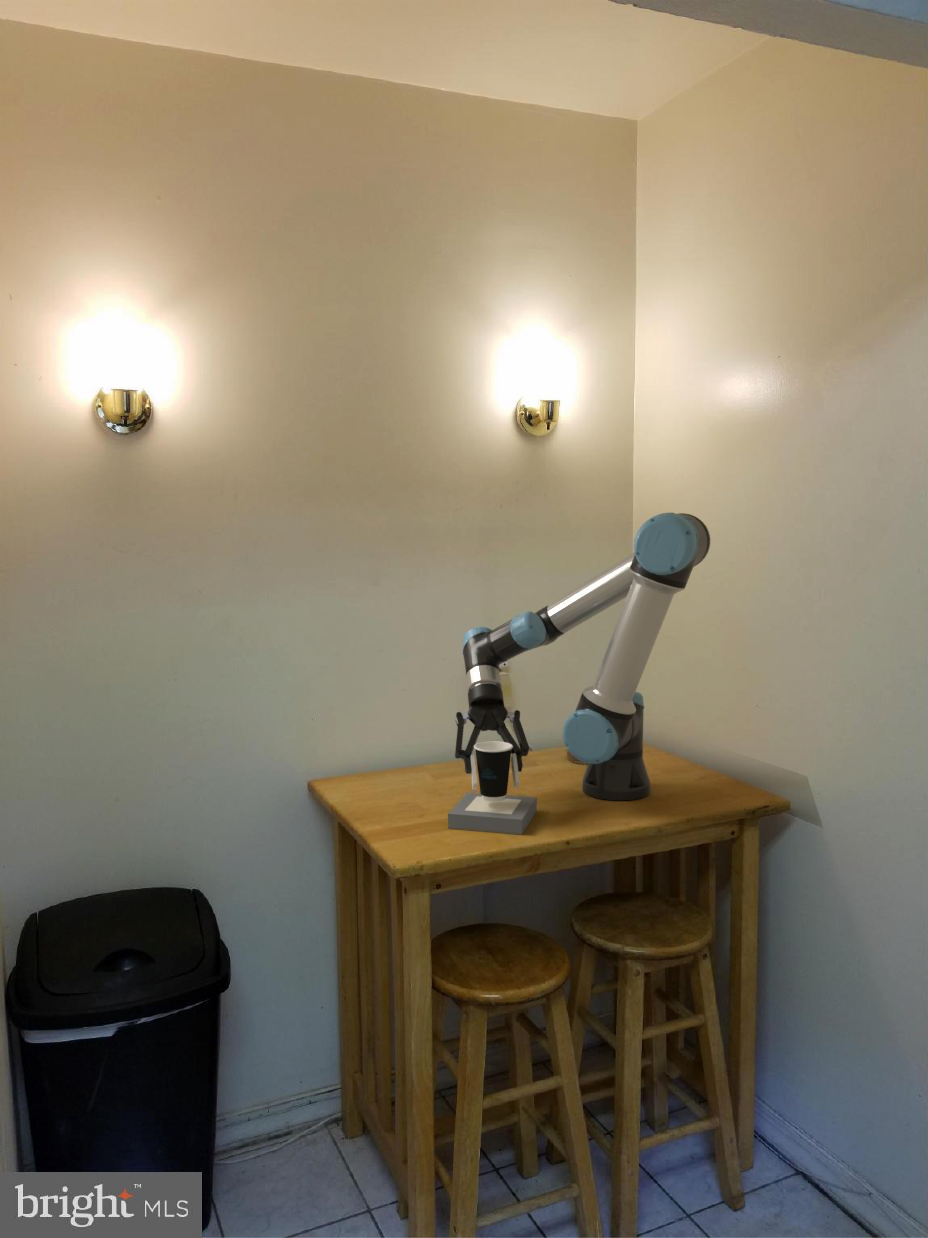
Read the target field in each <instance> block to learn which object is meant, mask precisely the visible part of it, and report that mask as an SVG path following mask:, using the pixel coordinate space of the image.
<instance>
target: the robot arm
mask: <svg viewBox="0 0 928 1238" xmlns="http://www.w3.org/2000/svg"><path fill="white" fill-rule="evenodd" d="M710 548H711V535H710V531H709V528H708V527H707V525H706V524H705V523H704V522H703V520H701V519H700V518H699V517H697V516H695V515H693V514H690V513H679V512H678V513H675V512H663V513H659V514H657V515H653V516H652V517H650V518H649V519H647V520H646V521H645V522H644V523H642V524H641V526H640V527H639V529H638V531H637V532H636V534H635V537H634V541H633V551H634V552H632V553H631V554H629V555H628V556H626V557H623V559H621V560H619V561H618V562H616V563H614V564H613V565H611V566H609V567H608V568H606V569H604V570H603V571H601V572H600V573H598V574H596V575H595V576H593V577H591V578H590V579H589V580H587V581H585V582H583V583H582V584H580V585H578V586H576V587H575V588H574V589H571V590H570V591H569V592H567V593H565V594H564V595H562V596H560V597H559V598H556V600H554V601H552V602H551V603H549V604H548V605H546V606H544V607H541V609H539V610H536V612H533V611H530V610H529V611H528V610H527V611H525V612H523V613H521V614H518V615H515V616H514V617H513V618H511V619H510V620H508V621H506V622H504V623H502V624H501V625H499V626H497V627H496V628H494V629H491V628H488V627H486V626H478V627H477V628H475V627H473V628H470V629H469V630H467V631H466V632H465V633H464V635H463V638H462V655H463V660H464V667H465V680H466V690H467V700H468V701H467V702H468V711H467V712H464V713H462V712H461V711H458V712H456V713H455V724H456V726H457V731H456V740H455V752H454V758H455V759H458V760H459V759H461V760H463V762H464V772H465V773H466V774H467V775H468V774H470V778H471V790H472V791H476V790H477V788H478V787H477V786H478V777H477V776H478V775H477V767H476V766H477V765H476V758H475V757H476V756H475V755H474V754H473V751H474V750H475V748H474V745H475V744H477V741H478V739H479V738H478V737H479V735H480V734H481V732H486V731H490V732H491V731H493V732H494V731H495V732H496V733H497V734H498V735H499V736H500V738H501V739H502V742H507V743H510V744H512V745H513V748H512V749H511V758H510V765H511V771H512V780H513V788H514V789H519V785H520V782H521V781H520V773H522V770H523V766H524V765H523V758H522V757H527V756H528V755H529V750H530V746H529V743H528V740H527V737H526V734H525V731H524V728H523V725H522V723H521V711H520V710H519V709H516V710H515V711H508V710H507V709H506V707H505V702H504V694H503V692H504V691H503V690H502V689H503V687H502V679H501V671H500V665H501V664H503V663H506V662H507V661H509V660H511V659H513V658H515V657H517V656H519V655H521V654H523V653H525V652H528V651H531V650H533V649H536V648H539V647H542V646H543V647H544V646H548V645H550V644H552V643H554V642H555V641H557V639H558V638H560V637H561V636H563V635H564V634H566V633H567V632H569V631H571V630H572V629H574V628H576V627H578V626H579V625H581V624H583V623H585V622H587V621H588V620H590V619H591V618H593V617H595V616H597V615H598V614H600V613H602V612H604V611H606V610H607V609H608V608H610V607H613V606H614V605H616V604H617V603H619V602H621V601H622V600H624V599H625V600H624V603H623V606H622V609H621V611H620V614H619V616H618V619H617V622H616V624H615V627H614V629H613V632H612V634H611V638H610V640H609V642H608V644H607V648H606V650H605V653H604V655H603V658H602V661H601V663H600V666H599V669H598V671H597V674H596V676H595V678H594V682H593V684H592V685H589V686H588V687H585V688H584V689H582V693H581V695H580V698H579V700H578V703H577V706H576V708H575V710H574V712H571V714H570V715H569V716H568V717H567V719H566V720H565V723H564V725H563V727H562V739H563V743H564V744H565V747H566V748H567V749H568V751H569V752H570V753H571V754H572V755H573V756H574V757H575V758H576V759H578V760H580V761H582V762H584V763H588V765H586V769H585V771H584V773H583V777H582V782H581V783H582V784H581V785H582V787H581V788H582V792H583V793H584V794H586V795H588V796H590V797H593V798H597V799H601V800H609V801H632V800H633V801H634V800H639V799H643V798H646V797H647V796H649V795H650V794H651V780H650V777H649V773H648V770H647V768H646V765H645V762H644V757H643V755H644V752H643V751H644V750H643V749H644V710H645V705H644V696H643V694H642V693H640V692H638V691H637V689H638V685H639V683H640V682H641V678H642V676H643V674H644V671H645V669H646V666H647V665H648V662H649V658H650V656H651V653H652V651H653V648H654V646H655V643H656V641H657V638H658V635H659V634H660V631H661V628H662V625H663V623H664V622H665V618H666V616H667V613H668V611H669V608H670V605H671V604H672V601H673V597H674V595H675V594H678V593H679V592H682V591H684V590H685V589H686V587H687V584H688V581H689V579H690V576H691V575H692V574H691V573H692V571H693V569H694V567H696V566H698V565H699V564H700V563H702V562H703V560H705V558H706V557H707V555H708V553H709V550H710ZM506 719H509V722H510V724H512V727H513V731H514V734H515V738H516V739H514V737H513V735H512V733H510V731H509V728H508V727H507V725H506V723H505V720H506ZM467 720H469V721H470V722H471V723H472V724H473V725H474V727H473V729H472V732H471V735H470V738H469V740H468V743H467V745H466V747H465V749H463V739H464V727H465V724H467Z"/></svg>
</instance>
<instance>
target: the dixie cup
mask: <svg viewBox="0 0 928 1238" xmlns="http://www.w3.org/2000/svg"><path fill="white" fill-rule="evenodd" d="M512 748H513V745H512V744H510V743H507V742H504V741H498V740H490V741H489V740H487V741H481V742H476V744H475V745H474V751H475V757H476V758H475V760H476V766H477V767H476V769H477V774H478V775H477V776H478V777H477V778H478V783H479V793H481V795H482V799H483V800H484V801H488V802H499V801H503V800H505V797H506V795H508V787H509V776H510V775H509V774H510V768H511V767H510V765H511V757H512V753H511V749H512Z"/></svg>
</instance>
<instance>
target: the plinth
mask: <svg viewBox="0 0 928 1238" xmlns="http://www.w3.org/2000/svg"><path fill="white" fill-rule="evenodd" d="M537 797H538V796H526V795H525V796H524V795H514V794H513V795H510V794H506V797H505V800H503V801H499V802H488V801H484V800H483V799H482V795H481V793H480V792H474V791H473V792H471V791H467V793H465V795H463V797H462V798H461V799H460V800H459V801H458V802H457V804H455V805H454V807H453V808H451V810H450V811H448V813H447V829H451V830H452V829H454V830H464V831H477V832H485V831H488V832H487V833H497V832H499V834H509V835H511V834H512V835H520V836H521V835H523V834H524V833H525V831H526V829H527V827H528V826H529V824H530V823H531V821H532V819H533V818H534V816H535V814H536V813H537V810H538V809H537V808H538V803H537V801H538V798H537Z"/></svg>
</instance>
